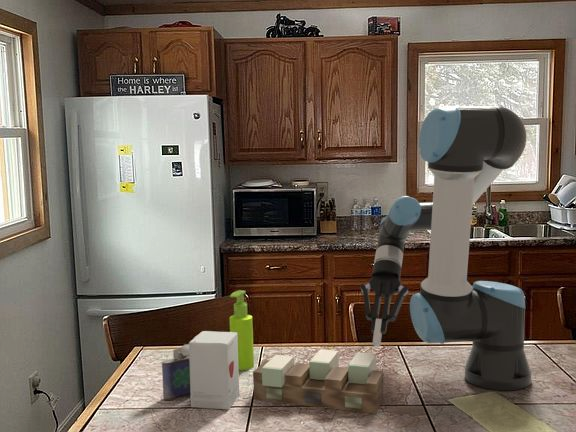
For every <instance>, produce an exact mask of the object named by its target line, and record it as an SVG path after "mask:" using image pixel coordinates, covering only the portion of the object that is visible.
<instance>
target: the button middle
mask: <svg viewBox="0 0 576 432" xmlns="http://www.w3.org/2000/svg"><path fill="white" fill-rule="evenodd" d="M339 355H340V353H339V350H334V349H333V350H331V349H321V348H320V349H319V350H318V351H317V352H316V354H314V356H313V357H312V358H311V359H310V361H308V362H309V363H308V364H309V370H310V379H316V380H324V379H325V378H326V376H327V375H328V374H329V372H330V371H331V370H332V368H333V367H340V364H339V363H340V362H339Z"/></svg>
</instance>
